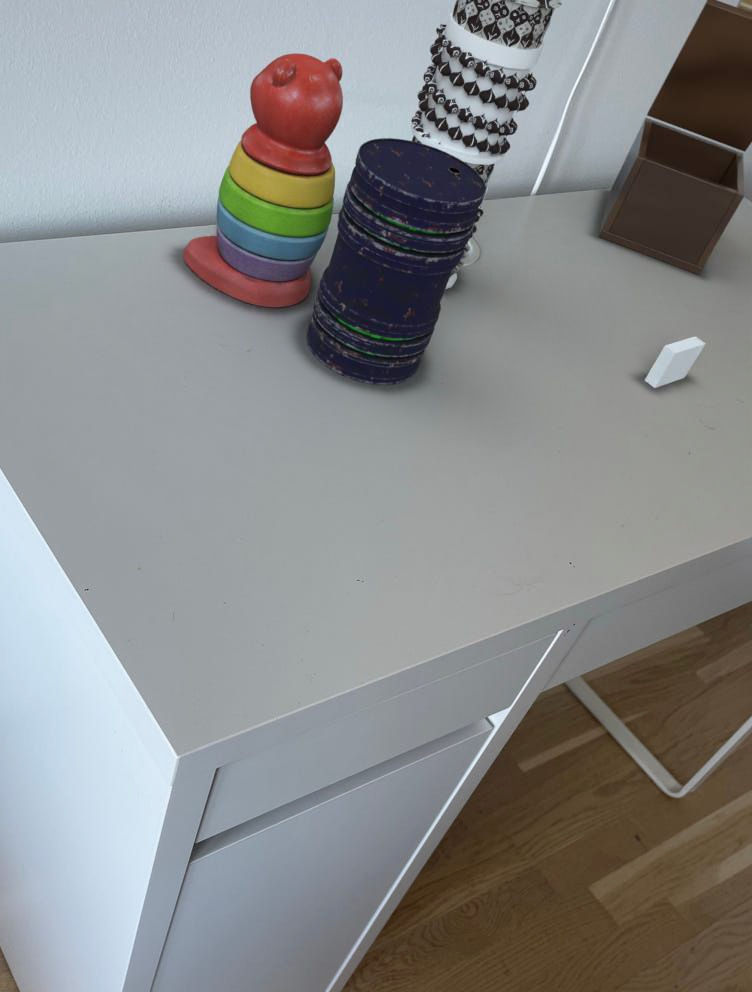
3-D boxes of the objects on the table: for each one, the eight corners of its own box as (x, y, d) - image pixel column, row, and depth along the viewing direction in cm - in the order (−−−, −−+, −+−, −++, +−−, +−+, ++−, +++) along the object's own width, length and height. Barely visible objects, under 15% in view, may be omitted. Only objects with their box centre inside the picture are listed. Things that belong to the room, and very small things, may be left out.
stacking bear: (276, 242, 91) (327, 29, 78) (337, 302, 86) (402, 86, 73) (173, 252, 85) (209, 25, 72) (233, 317, 81) (282, 86, 68)
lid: (819, 43, 96) (831, 7, 97) (706, 2, 97) (719, -33, 98) (744, 152, 110) (756, 119, 111) (646, 115, 111) (658, 83, 112)
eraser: (684, 377, 91) (706, 343, 89) (654, 388, 89) (675, 353, 86) (674, 370, 92) (695, 335, 89) (644, 380, 89) (664, 345, 87)
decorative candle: (347, 246, 94) (438, -63, 75) (419, 237, 98) (521, -55, 80) (405, 298, 89) (516, -15, 71) (478, 287, 94) (599, -10, 76)
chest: (698, 274, 108) (744, 195, 101) (598, 236, 108) (637, 155, 102) (701, 228, 117) (743, 153, 111) (608, 193, 118) (645, 117, 111)
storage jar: (338, 390, 77) (399, 203, 66) (284, 318, 82) (332, 135, 71) (441, 380, 81) (514, 204, 71) (384, 313, 87) (443, 139, 76)
